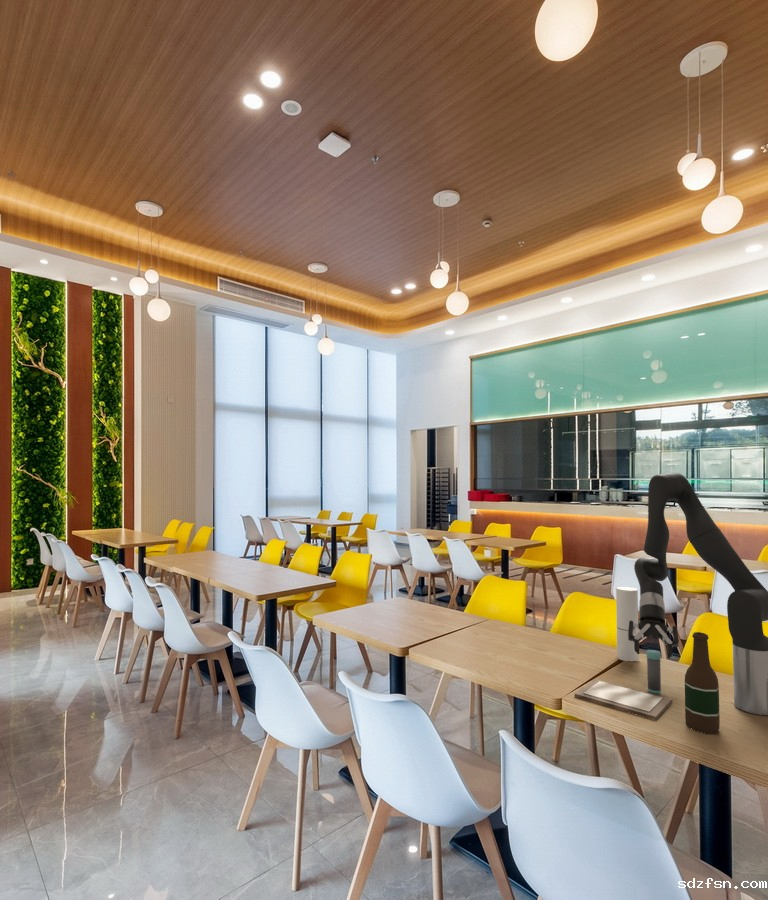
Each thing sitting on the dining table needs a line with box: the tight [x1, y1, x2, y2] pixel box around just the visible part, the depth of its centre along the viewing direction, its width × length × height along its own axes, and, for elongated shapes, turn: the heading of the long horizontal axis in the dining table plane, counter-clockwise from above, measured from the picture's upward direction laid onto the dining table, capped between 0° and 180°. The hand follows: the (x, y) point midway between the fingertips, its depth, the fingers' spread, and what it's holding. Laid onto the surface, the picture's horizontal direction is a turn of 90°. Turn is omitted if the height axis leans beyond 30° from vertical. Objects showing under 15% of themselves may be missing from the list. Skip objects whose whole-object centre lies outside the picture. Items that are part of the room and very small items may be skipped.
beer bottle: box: [684, 631, 721, 735], centre depth 136 cm, size 8×8×24 cm
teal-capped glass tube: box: [646, 649, 662, 695], centre depth 159 cm, size 4×4×12 cm
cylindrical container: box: [615, 586, 640, 662], centre depth 190 cm, size 7×7×25 cm
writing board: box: [574, 678, 673, 721], centre depth 152 cm, size 22×16×1 cm
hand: (653, 654), depth 162 cm, fingers open, 8 cm apart
